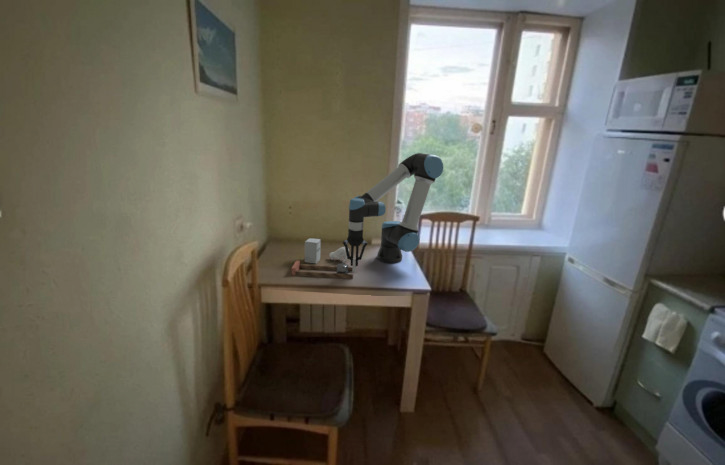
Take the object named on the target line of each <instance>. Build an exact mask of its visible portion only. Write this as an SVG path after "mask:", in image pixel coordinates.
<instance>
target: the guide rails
mask: <svg viewBox="0 0 725 465" xmlns="http://www.w3.org/2000/svg"><path fill="white" fill-rule="evenodd" d="M299 269H303V270H298V271H296V272H295V275H294V276H299V277H300V276H301V277H315V278H316V277H317V278H333V279H352V280H353V278H354V274H352V273H353V272H352V269H353V266H348V272H352V273H348V274H340V273H337V265H321V264H319V265H318V264H317V265H316V264H306V263H305V264H304V263H303V264H302V263H300V265H299ZM304 269H306V271H304ZM307 270H319V271H320V272H318V271H307ZM321 270H322V271H336V272H321Z"/></svg>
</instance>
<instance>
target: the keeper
mask: <svg viewBox="0 0 725 465" xmlns="http://www.w3.org/2000/svg"><path fill="white" fill-rule="evenodd" d="M336 266H337V271H336V273H340V274H349V271H348V267H349V265H348V264H347V263H345V262H344V263H342V262H340V263H338V264H337V265H336Z"/></svg>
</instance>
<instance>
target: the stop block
mask: <svg viewBox="0 0 725 465" xmlns="http://www.w3.org/2000/svg"><path fill="white" fill-rule="evenodd" d="M293 263H294V264H293V265H292V267H291V276H296V275H295V272H296V271H300V268H299V265H300V264H301V260H295V262H293Z"/></svg>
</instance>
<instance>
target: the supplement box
mask: <svg viewBox="0 0 725 465" xmlns="http://www.w3.org/2000/svg"><path fill="white" fill-rule="evenodd" d="M320 260H321V238H308V239H307V240H305V241H304V263H308V264H314V265H316V264H318V262H319V261H320Z"/></svg>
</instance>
